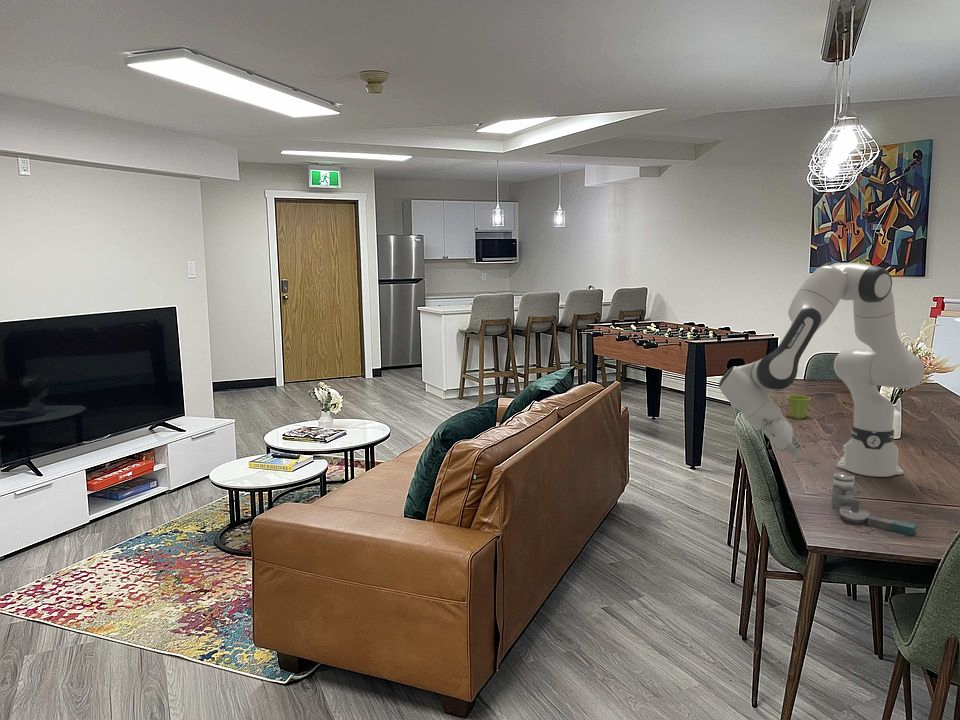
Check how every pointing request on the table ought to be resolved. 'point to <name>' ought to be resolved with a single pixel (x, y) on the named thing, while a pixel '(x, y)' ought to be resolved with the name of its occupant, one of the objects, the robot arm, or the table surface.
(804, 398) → the plant pot
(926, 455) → the table surface
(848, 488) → the cylinder on square base
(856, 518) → the ratchet
